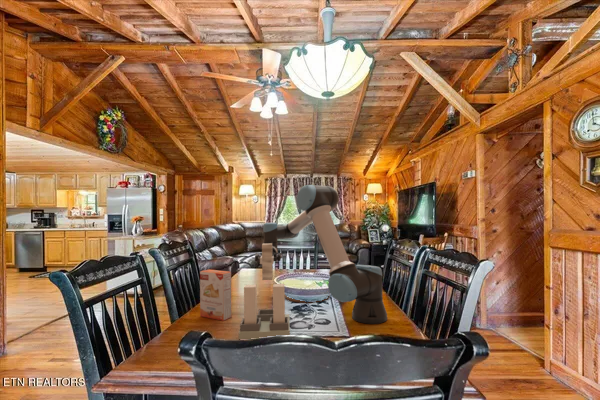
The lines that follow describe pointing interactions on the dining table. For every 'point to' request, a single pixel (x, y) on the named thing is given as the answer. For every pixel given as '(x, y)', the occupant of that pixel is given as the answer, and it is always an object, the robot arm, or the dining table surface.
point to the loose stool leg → (267, 261)
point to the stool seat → (264, 315)
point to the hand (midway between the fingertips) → (266, 260)
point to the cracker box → (215, 294)
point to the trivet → (299, 300)
